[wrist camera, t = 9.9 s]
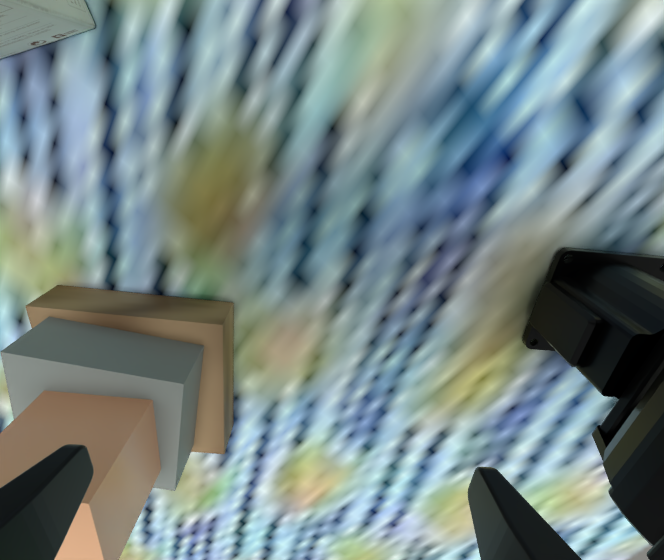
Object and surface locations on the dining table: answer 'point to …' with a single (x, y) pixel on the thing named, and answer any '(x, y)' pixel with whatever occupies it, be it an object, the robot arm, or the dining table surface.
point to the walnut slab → (166, 322)
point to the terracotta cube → (107, 458)
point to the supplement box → (40, 23)
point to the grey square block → (113, 377)
